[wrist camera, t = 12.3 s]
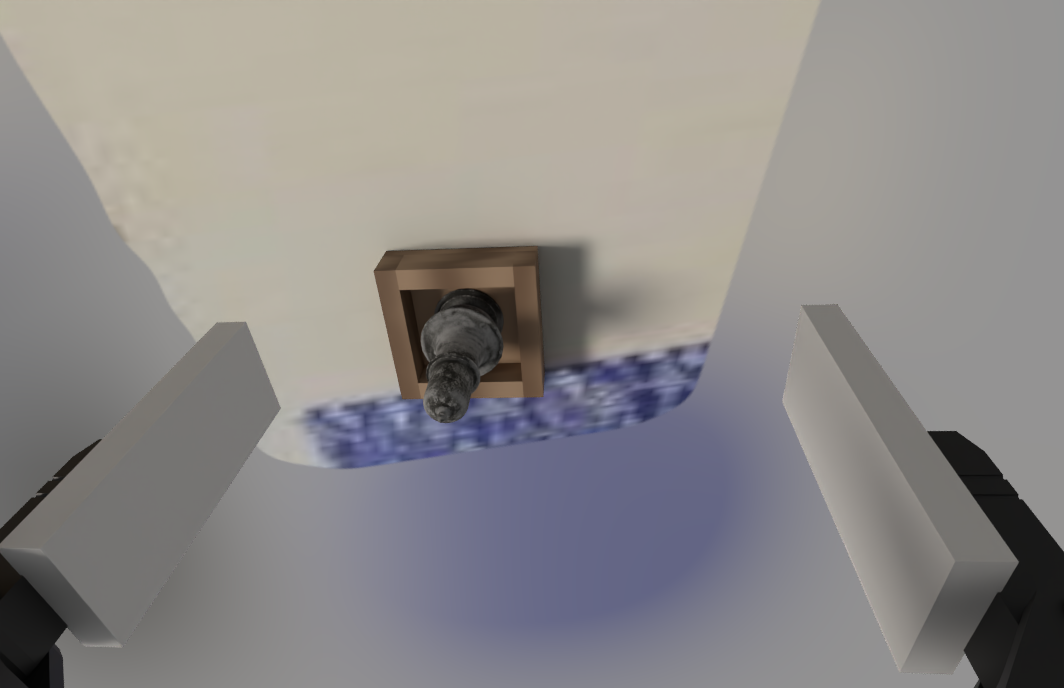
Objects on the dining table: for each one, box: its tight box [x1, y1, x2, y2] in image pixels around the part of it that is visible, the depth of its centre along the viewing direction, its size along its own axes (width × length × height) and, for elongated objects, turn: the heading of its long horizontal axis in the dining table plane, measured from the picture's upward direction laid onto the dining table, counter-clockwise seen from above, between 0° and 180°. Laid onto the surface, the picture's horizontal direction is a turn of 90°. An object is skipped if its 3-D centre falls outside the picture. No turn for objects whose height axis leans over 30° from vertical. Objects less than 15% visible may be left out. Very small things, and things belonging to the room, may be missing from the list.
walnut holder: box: [374, 246, 545, 399], centre depth 44 cm, size 11×11×3 cm
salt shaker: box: [421, 288, 504, 423], centre depth 40 cm, size 6×6×12 cm
